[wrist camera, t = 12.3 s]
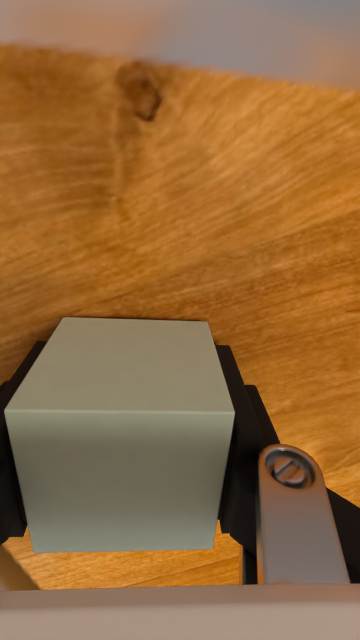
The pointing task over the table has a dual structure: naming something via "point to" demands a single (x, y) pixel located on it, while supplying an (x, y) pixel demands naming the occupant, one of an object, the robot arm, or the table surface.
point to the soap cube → (122, 437)
